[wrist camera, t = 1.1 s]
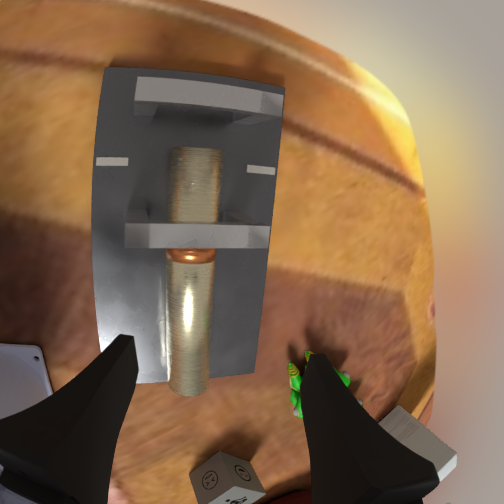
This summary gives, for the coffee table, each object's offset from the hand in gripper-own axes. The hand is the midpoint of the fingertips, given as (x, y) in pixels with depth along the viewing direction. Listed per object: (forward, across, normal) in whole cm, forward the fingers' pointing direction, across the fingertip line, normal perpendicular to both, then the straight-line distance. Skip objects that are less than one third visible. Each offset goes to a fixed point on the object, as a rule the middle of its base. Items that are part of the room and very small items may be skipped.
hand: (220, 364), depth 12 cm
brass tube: (+8, +2, +1) cm, 8 cm away
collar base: (+10, +4, 0) cm, 11 cm away
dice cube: (+7, -1, +25) cm, 26 cm away
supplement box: (+14, -24, +28) cm, 40 cm away
